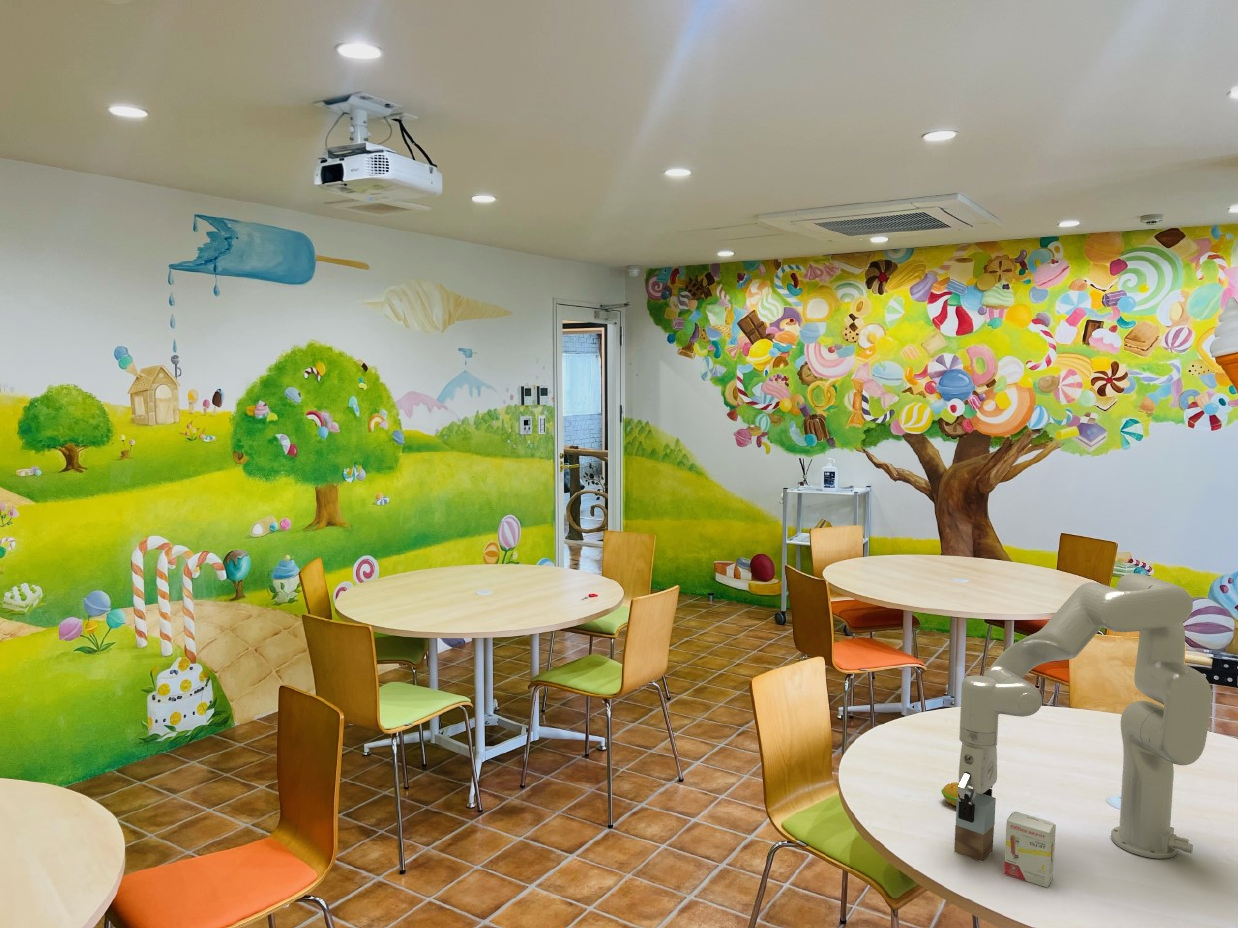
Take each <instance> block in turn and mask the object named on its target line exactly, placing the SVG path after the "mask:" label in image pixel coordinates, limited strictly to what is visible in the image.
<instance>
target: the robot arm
mask: <svg viewBox="0 0 1238 928" xmlns="http://www.w3.org/2000/svg"><path fill="white" fill-rule="evenodd" d="M1193 607H1194V601H1193V599H1192V596H1191V595H1190V594H1189V592H1188V591H1187V590H1186V589H1185V588H1183V587H1181V586H1179V585H1178V584H1174V583H1172V582H1168V581H1166V580H1161V579H1159V578H1157V577H1153V576H1151V575H1147V574H1143V573H1142V574H1141V573H1136V572H1135V573H1133V572H1131V573H1127V574H1124V575H1122V576H1121V577H1120V578H1119V580H1118V581H1117V583H1116V588H1115V587H1111V586H1109V585H1106V584H1103V583H1098V582H1094V581H1093V582H1085V583H1083V584H1081V585H1080V586H1078V587H1077V588H1076V590H1074V591H1073V593H1072V594H1071V595H1070V596H1069V597H1068V598H1067V599H1066V601H1065V602H1064V603H1063V604H1061V606H1060V608H1059V609H1058V610H1057V611H1056V612H1055V613H1054V614H1053V615H1052V617H1051V618H1050V619H1049V620H1048V621H1047V623H1046V624H1045V625H1043V627H1042V628H1041V629H1039V631H1037V632H1035V633H1033V634H1030V635H1028V636H1026V637H1024V638H1023V639H1019V640H1018V641H1017V642H1015V643H1012V644H1011V645H1010V646H1009V647H1007V648H1006V649H1005V650H1004V651H1002V652H1001V654H1000V655H999V656H998V657H997V659H995V660H994V661H993V663H991V665H990V667H988V669H987V670H986V672H985V674H984V675H978V674H977V675H967V676H966V677H963V679H962V681H961V688H960V689H961V691H960V692H961V693H960V712H959V713H960V715H959V717H960V718H959V738H958V739H959V741H960V742H961V743H962V744H961V748H960V756H959V757H960V758H959V767H958V783H959V786H958V797H959V798H958V801H959V809H958V818H959V819H962V820H965V821H968V822H971V823H973V822H974V815H975V804H973V802H974V798H975V795H976V793H978V794H980V795H981V794H985V795H988V796H991V797H993V787H994V785H995V784H996V783H997V780H998V751H997V745H998V735H999V734H998V732H999V731H998V730H999V715H1006V716H1012V717H1021V718H1022V717H1024V718H1025V717H1029V716H1032V715H1035V714H1036V713H1038V712H1039V710H1040V709H1041V707H1042V704H1043V699H1042V697H1043V696H1042V695H1041V692H1040V691H1039V689H1038V688H1037V687H1036V686H1035V685H1034V684H1032V683H1031V682H1029V681H1027V680H1026V679H1025V678H1024V677H1025V676H1026V675H1027V674H1028V673H1029V672H1030V671H1031V670H1033V669H1034V668H1036V667H1038V666H1039V665H1043V664H1045V663H1046V664H1047V663H1051V662H1056V661H1066V660H1067V661H1068V660H1071V659H1075V658H1076V657H1077V656H1079V655H1080V653H1082V651H1083V650H1084V649H1085V647H1086V646H1087V645H1088V644H1089V643H1090V642H1091V641H1092V640H1093V638H1094V637H1095V636H1096V635H1097V634H1098V632H1099V631H1100V630H1101V629H1102V628H1104V629H1105V630H1106V629H1107V630H1109V631H1111V632H1115V633H1131V632H1134V633H1135V632H1138V645H1137V652H1136V653H1137V655H1136V660H1135V667H1134V681H1133V682H1134V685H1135V687H1136V688H1137V690H1138V691H1139V692H1140V693H1141V694H1143V695H1144V696H1146V697H1147V698H1150V699H1152V700H1154V701H1155V702H1158V703H1160V704H1161V705H1163V706H1161V705H1159V704H1157V703H1154V702H1151V701H1148V700H1147V701H1145V700H1137V701H1133V702H1131V703H1129V704H1128V705H1127V706H1126V707H1125V708H1124V710H1123V712H1122V713H1121V716H1120V732H1121V733H1120V734H1121V740H1122V746H1123V747H1122V748H1123V749H1122V750H1123V761H1122V763H1123V764H1122V775H1121V776H1122V778H1121V792H1120V793H1121V794H1120V812H1119V825H1118V826H1116V827H1114V828H1112V830H1111V833H1110V837H1111V840H1112V842H1113V843H1114V844H1115V845H1116V846H1118V848H1121V849H1123V850H1125V851H1126V852H1128V853H1132V854H1134V855H1137V856H1140V857H1144V858H1150V859H1159V860H1160V859H1161V860H1162V859H1170V858H1173V857H1175V856H1176V855H1177V854H1178V850H1180V851H1182V852H1185V853H1188V854H1193V849H1194V844H1192V843H1190V840H1189V838H1184V837H1180V836H1177V834H1175V827H1172V826H1171V821H1172V808H1173V807H1172V804H1173V791H1174V790H1173V789H1174V788H1173V787H1174V776H1175V775H1174V774H1175V773H1174V772H1175V771H1174V765H1175V766H1189V765H1192V764H1194V763H1196V761H1197V760H1199V759H1200V757H1201V756H1202V754H1203V751H1204V749H1205V746H1206V742H1207V738H1208V737H1207V736H1208V732H1209V731H1208V729H1209V722H1210V715H1211V709H1212V702H1213V699H1212V698H1213V694H1212V688H1211V686H1210V685H1211V684H1210V682H1209V681H1208V680H1207V678H1206V676H1205V675H1204V674H1203V673H1201V672H1200V671H1198V670H1196V669H1195V668H1193V667H1191V666H1188V665H1186V664H1185V660H1184V659H1185V648H1186V647H1185V646H1186V644H1185V642H1186V631H1185V626H1184V623H1183V622H1185V621H1186V620H1188V618H1189V617H1191V614H1192V611H1193ZM967 786H968V787H969V788H968V787H967ZM971 787H972V788H971ZM966 791H967V792H970V793H971V796H970V797H969V795H968V794H966Z"/></svg>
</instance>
